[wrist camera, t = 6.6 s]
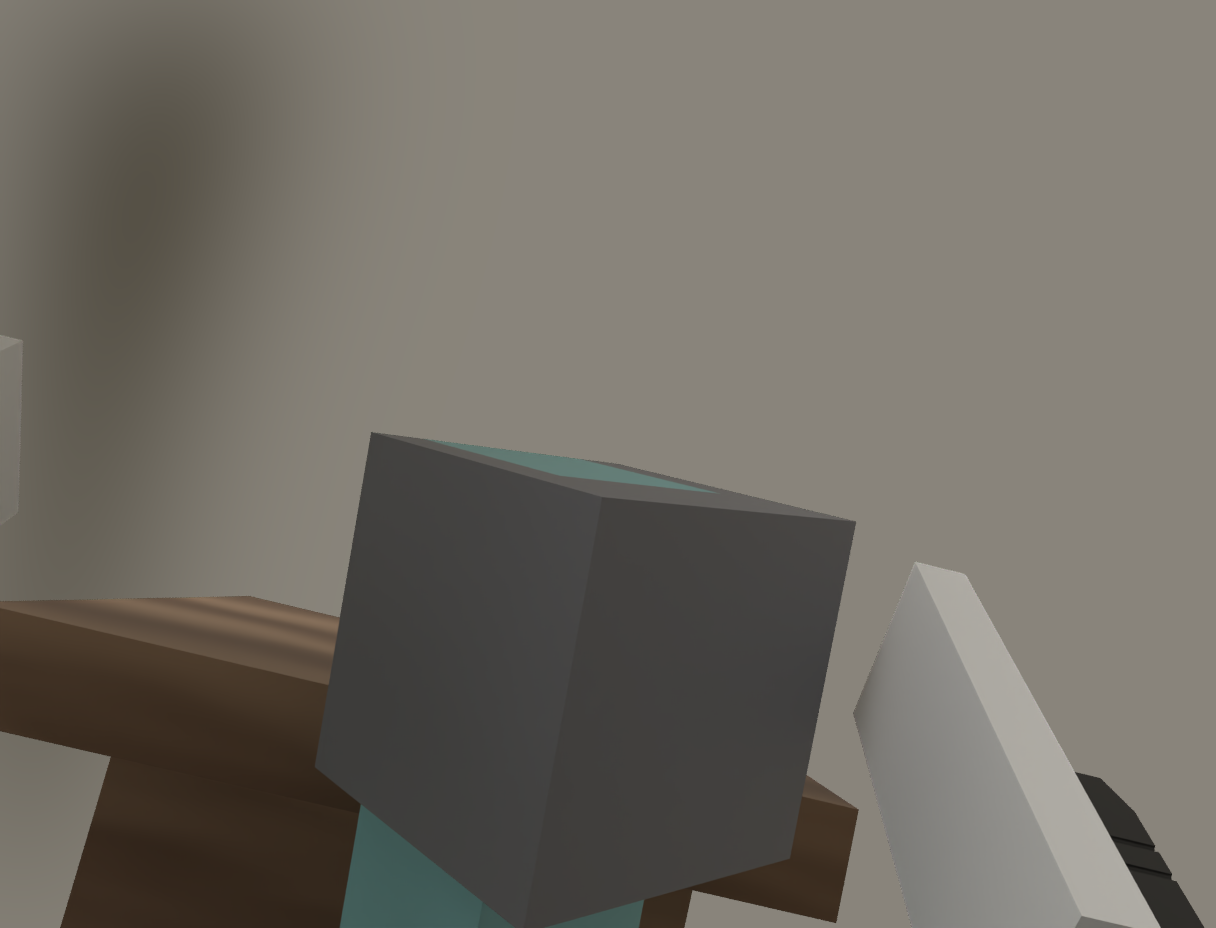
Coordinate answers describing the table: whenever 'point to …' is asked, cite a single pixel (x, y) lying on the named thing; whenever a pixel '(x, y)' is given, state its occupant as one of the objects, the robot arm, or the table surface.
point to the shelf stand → (254, 768)
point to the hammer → (569, 685)
